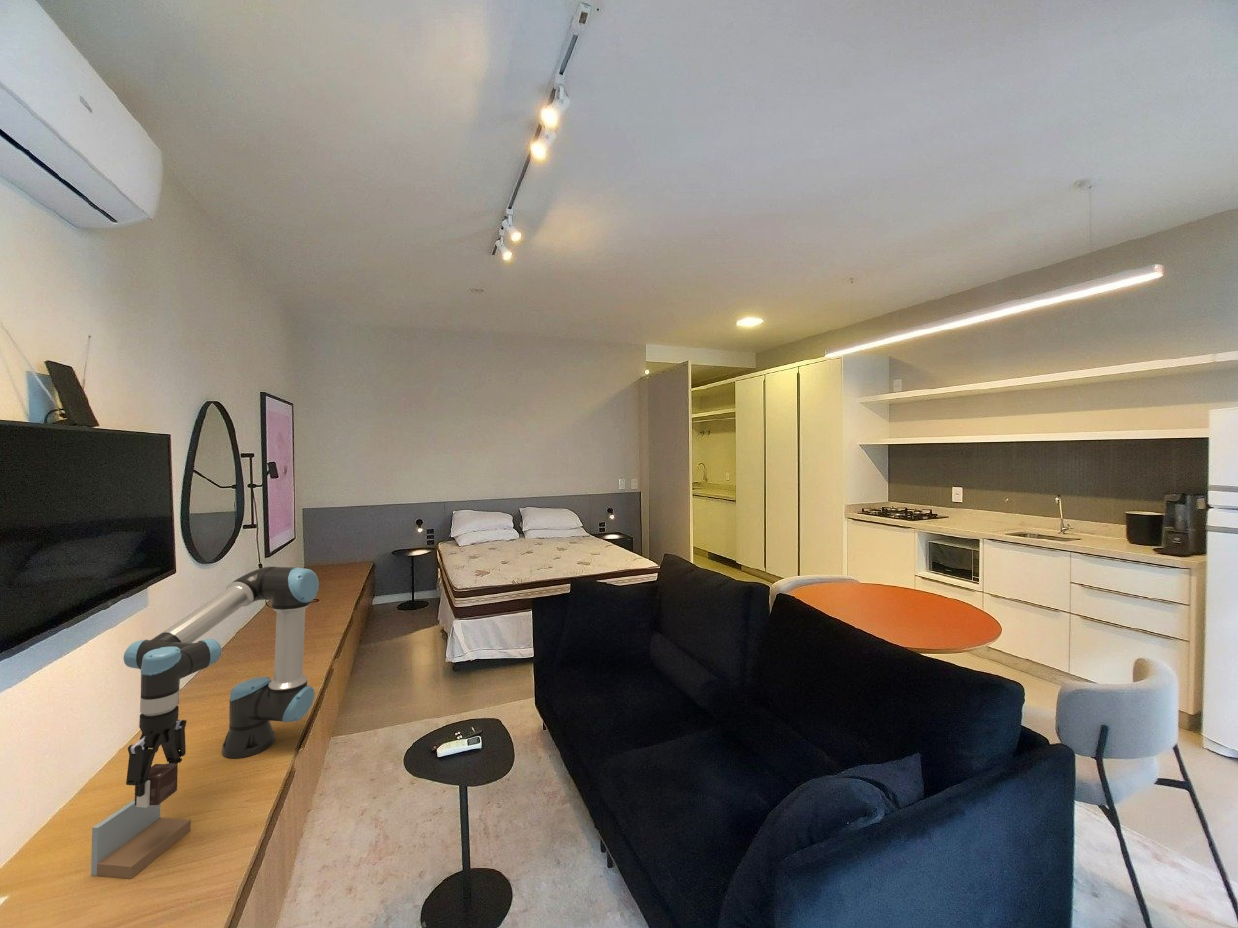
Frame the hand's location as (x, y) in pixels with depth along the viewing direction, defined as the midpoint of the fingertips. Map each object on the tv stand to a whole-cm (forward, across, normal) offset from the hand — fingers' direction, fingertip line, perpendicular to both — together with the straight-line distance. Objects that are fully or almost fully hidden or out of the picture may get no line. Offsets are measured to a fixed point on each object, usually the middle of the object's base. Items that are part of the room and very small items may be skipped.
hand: (156, 797), depth 130 cm
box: (+1, 0, 0) cm, 1 cm away
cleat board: (+15, 0, -4) cm, 15 cm away
